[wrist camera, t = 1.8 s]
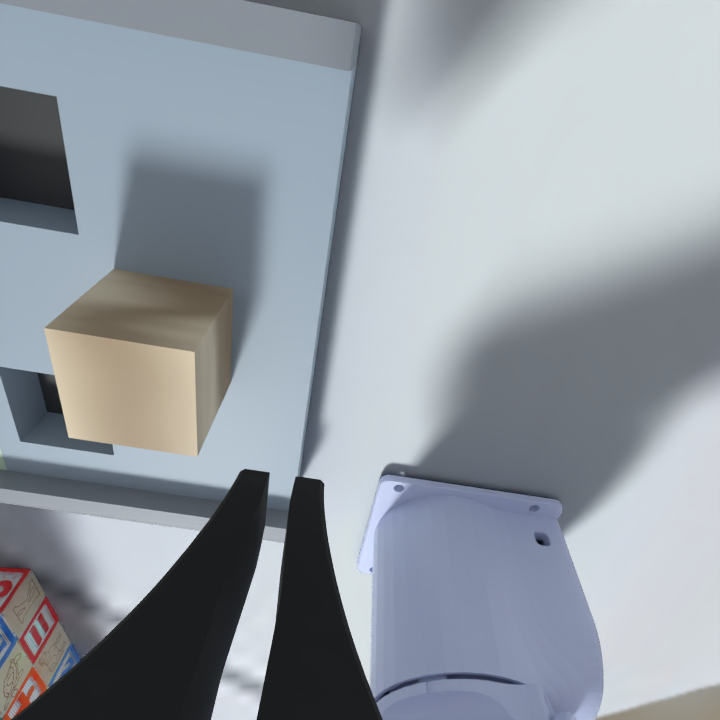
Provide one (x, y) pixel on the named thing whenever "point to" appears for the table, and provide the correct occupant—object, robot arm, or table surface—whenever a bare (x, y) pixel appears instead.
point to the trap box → (168, 226)
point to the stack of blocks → (28, 642)
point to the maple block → (143, 361)
